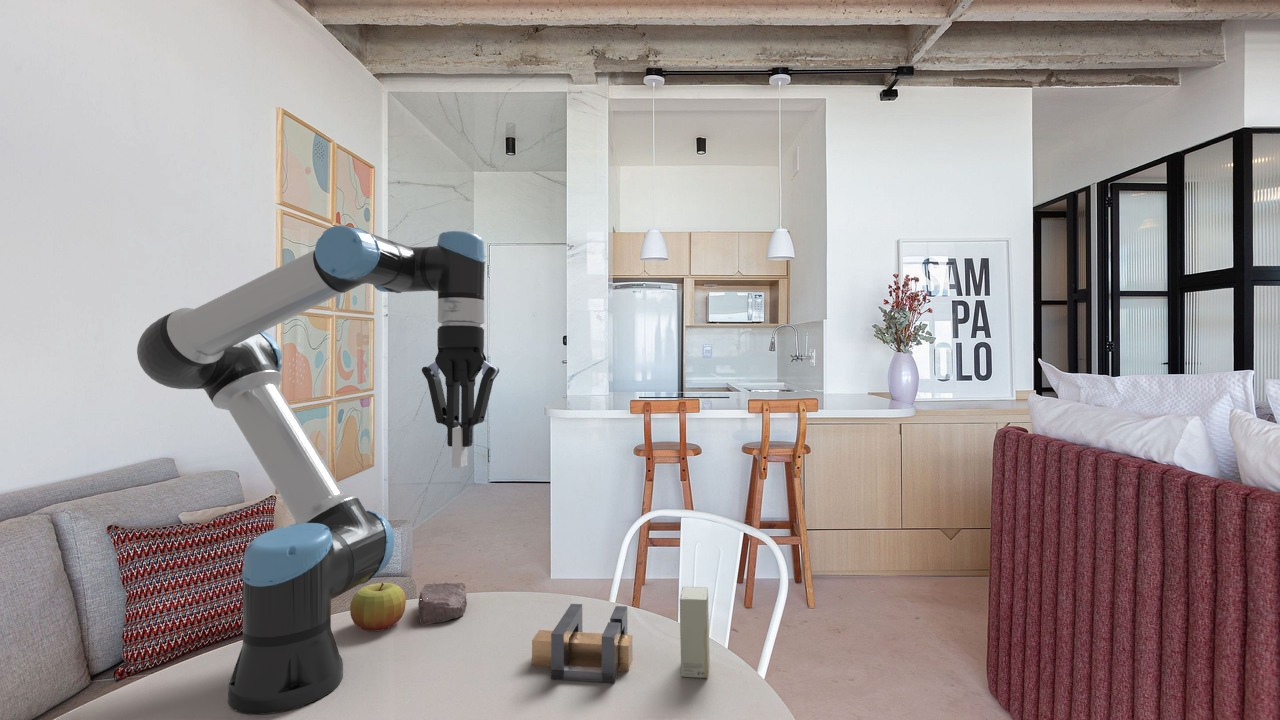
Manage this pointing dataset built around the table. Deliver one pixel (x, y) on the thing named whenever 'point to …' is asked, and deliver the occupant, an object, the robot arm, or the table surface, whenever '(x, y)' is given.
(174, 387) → the robot arm
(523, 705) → the table surface
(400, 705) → the table surface
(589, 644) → the block
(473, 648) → the table surface
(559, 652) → the grey open frame bracket
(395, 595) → the apple
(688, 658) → the skincare box
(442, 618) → the stone
